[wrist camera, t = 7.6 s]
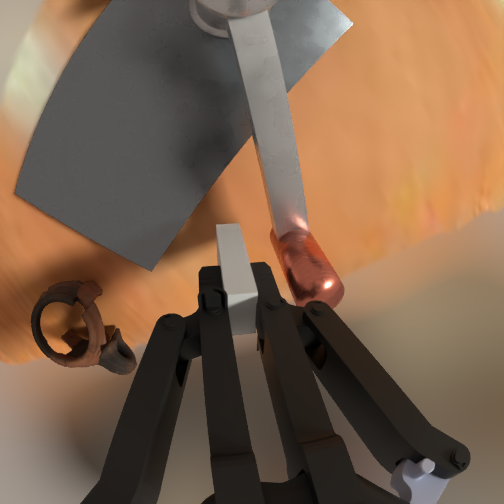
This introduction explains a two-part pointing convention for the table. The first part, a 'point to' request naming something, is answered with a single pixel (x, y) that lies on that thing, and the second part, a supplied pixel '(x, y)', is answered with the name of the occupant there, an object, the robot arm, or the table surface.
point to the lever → (274, 145)
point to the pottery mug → (98, 346)
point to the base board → (153, 118)
